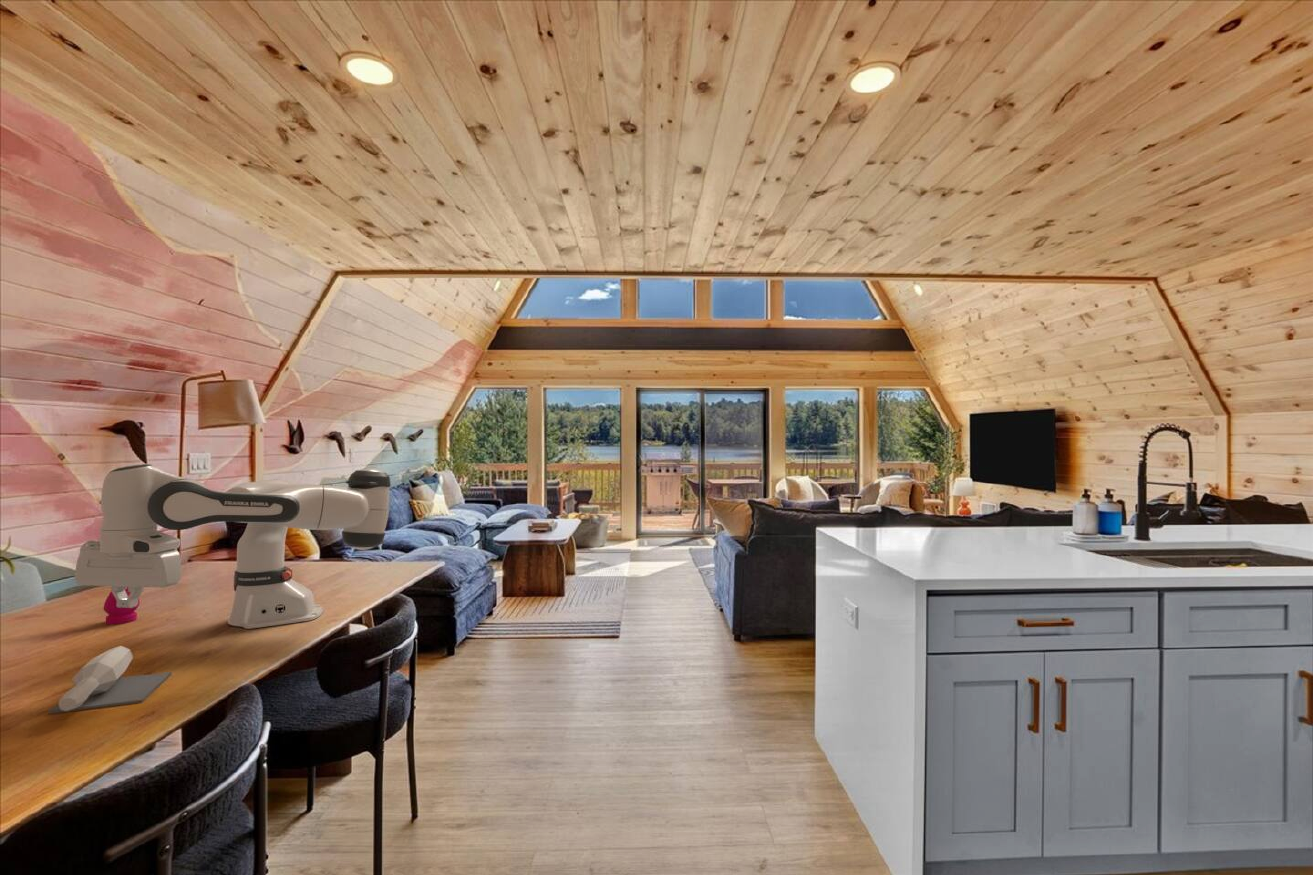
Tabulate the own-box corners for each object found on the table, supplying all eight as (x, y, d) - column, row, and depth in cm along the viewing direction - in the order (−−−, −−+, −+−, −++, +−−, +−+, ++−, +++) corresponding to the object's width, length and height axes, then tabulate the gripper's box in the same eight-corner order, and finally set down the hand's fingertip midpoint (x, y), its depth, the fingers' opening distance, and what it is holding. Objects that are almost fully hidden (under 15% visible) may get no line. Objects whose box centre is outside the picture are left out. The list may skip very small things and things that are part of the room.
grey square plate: (171, 674, 122) (171, 671, 122) (142, 702, 109) (142, 699, 109) (89, 683, 117) (89, 681, 117) (48, 713, 104) (48, 711, 104)
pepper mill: (108, 627, 151) (110, 551, 151) (99, 622, 155) (101, 548, 155) (143, 620, 157) (145, 548, 157) (133, 615, 161) (135, 545, 161)
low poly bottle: (123, 635, 120) (73, 678, 101) (145, 657, 122) (100, 703, 102) (90, 656, 118) (33, 704, 98) (113, 678, 120) (61, 729, 100)
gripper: (65, 542, 117) (63, 609, 117) (161, 545, 116) (159, 612, 116) (96, 537, 123) (95, 601, 123) (188, 539, 122) (186, 603, 122)
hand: (127, 606), depth 119 cm, fingers closed
